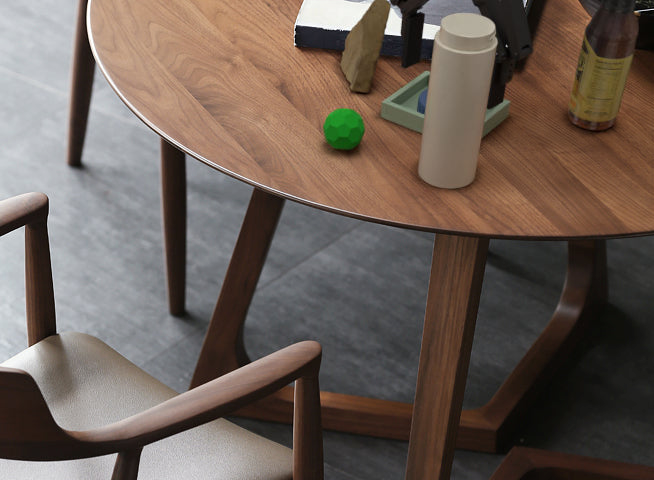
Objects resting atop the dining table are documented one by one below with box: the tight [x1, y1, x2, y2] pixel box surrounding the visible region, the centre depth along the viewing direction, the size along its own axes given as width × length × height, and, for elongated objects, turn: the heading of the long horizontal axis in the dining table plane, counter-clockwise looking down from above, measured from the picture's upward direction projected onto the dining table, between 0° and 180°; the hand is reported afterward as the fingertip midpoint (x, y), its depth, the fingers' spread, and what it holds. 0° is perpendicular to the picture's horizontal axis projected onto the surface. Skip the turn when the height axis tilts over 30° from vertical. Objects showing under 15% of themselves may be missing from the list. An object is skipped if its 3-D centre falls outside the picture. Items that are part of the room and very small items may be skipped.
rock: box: [339, 0, 392, 94], centre depth 142 cm, size 11×9×10 cm
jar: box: [417, 12, 498, 190], centre depth 121 cm, size 7×7×19 cm
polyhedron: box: [322, 107, 366, 151], centre depth 130 cm, size 5×5×5 cm
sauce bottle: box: [568, 0, 640, 132], centre depth 130 cm, size 6×6×20 cm
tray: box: [379, 70, 512, 139], centre depth 136 cm, size 13×11×2 cm
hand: (450, 84), depth 134 cm, fingers open, 13 cm apart
